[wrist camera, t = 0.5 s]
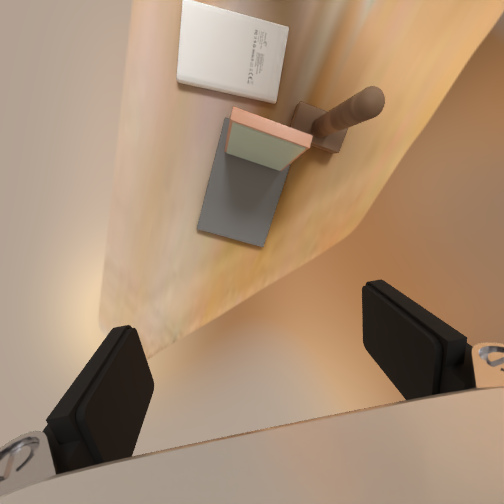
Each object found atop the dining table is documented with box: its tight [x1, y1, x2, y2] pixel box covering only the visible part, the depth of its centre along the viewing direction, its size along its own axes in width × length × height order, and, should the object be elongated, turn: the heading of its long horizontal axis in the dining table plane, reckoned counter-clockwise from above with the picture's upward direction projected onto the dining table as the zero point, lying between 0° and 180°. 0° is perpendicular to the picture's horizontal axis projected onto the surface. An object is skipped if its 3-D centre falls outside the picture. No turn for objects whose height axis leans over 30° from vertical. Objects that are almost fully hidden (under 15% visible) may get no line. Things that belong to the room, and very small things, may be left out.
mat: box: [197, 118, 290, 247], centre depth 36 cm, size 15×10×1 cm, turn 163°
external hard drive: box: [176, 0, 289, 104], centre depth 31 cm, size 2×8×12 cm
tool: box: [290, 86, 385, 153], centre depth 28 cm, size 4×7×14 cm, turn 73°
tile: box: [224, 106, 313, 171], centre depth 29 cm, size 1×8×10 cm, turn 73°
